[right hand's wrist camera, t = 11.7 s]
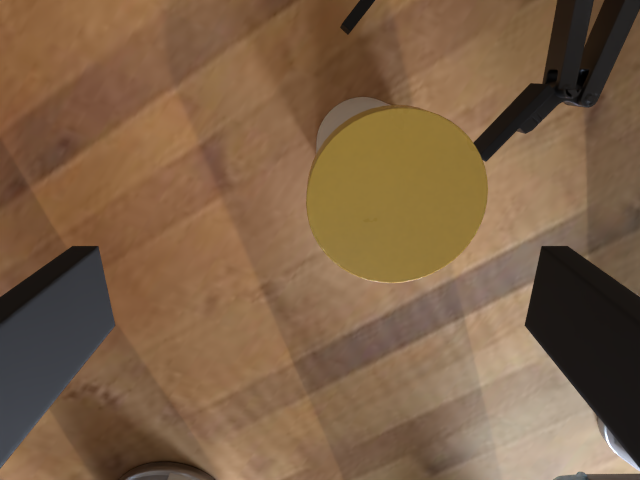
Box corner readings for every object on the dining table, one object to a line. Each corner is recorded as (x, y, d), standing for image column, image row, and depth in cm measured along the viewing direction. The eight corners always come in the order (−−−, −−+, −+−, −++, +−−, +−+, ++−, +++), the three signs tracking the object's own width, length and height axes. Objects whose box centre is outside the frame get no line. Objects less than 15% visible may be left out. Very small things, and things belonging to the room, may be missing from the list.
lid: (460, 82, 21) (474, 83, 19) (484, 245, 24) (498, 259, 22) (286, 132, 22) (283, 138, 20) (331, 283, 25) (332, 300, 23)
